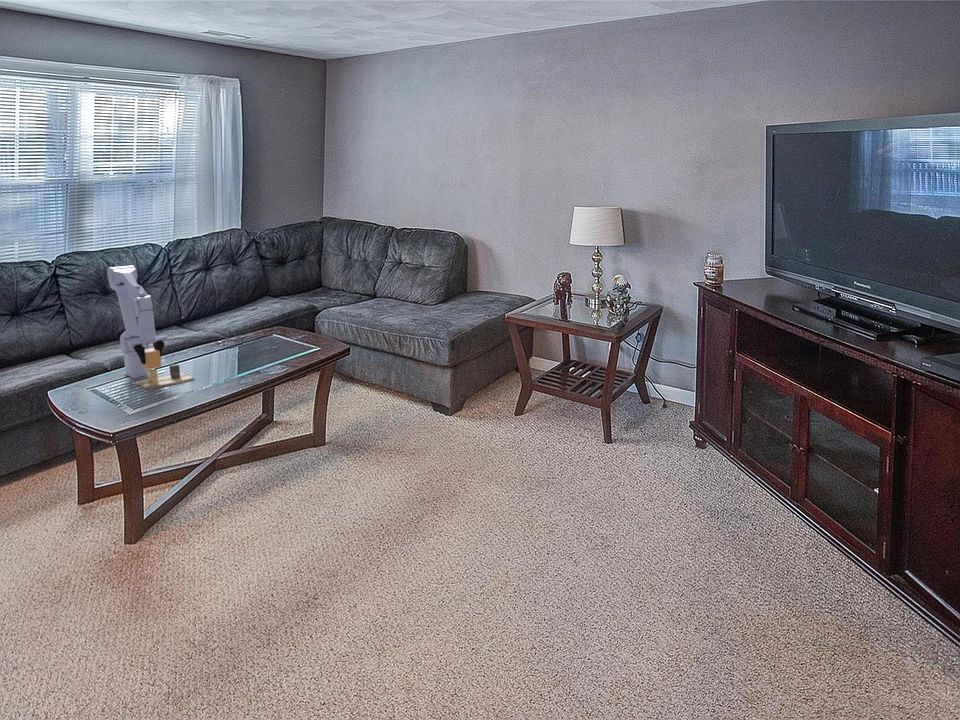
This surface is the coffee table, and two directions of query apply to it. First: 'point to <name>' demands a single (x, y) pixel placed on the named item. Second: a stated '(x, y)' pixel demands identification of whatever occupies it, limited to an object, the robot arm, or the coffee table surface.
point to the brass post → (152, 376)
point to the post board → (166, 379)
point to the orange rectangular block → (152, 359)
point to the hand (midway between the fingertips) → (150, 362)
